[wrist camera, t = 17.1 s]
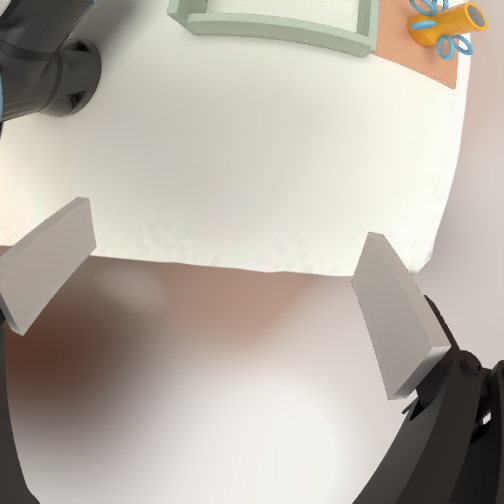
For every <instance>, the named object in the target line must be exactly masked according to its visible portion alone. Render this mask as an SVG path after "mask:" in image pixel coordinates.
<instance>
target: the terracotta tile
mask: <svg viewBox="0 0 504 504" xmlns="http://www.w3.org/2000/svg"><path fill="white" fill-rule="evenodd" d="M428 1H429V2H430V3H431V4H432V1H430V0H428ZM414 2H415V4H416V5H417V6H418V7H419V8H421V9H422V10H424V11H431V10H430V8H429V6H428V5H427V4H426V3H424V2H423V1H421V0H414ZM436 6H437V9H438V11H440V10H441V9H442V8H443V7H441V6H439V5H437V4H436ZM418 13H420V12H418V11H417V10H416V9H414V8H413V6H412V5H411V4H410V2H409V0H379V17H378V30H377V41H376V51H375V52H373V54H374V55H377V56H380V57H383V58H386V59H388V60H391V61H394V62H396V63H399V64H401V65H404V66H406V67H409V68H411V69H413V70H416V71H418V72H420V73H422V74H424V75H427V76H429V77H431V78H433V79H435V80H437V81H439V82H441V83H443V84H445V85H447V86H448V87H450V88H452V89H455V88H456V79H457V67H458V50H457V49H456V48H455V49H454V54H453V56H452V58H451V59H449V60H443V59H442V58H441V57H440V56H439V54H438V51H437V45H436V46H431V47H427V46H423V45H421V44H419V43H418V42H417V41H416V40H415V39H414V38H413V37H412V36H411V34H410V32H409V30H408V20H409V18H410V17H412V16H414V15H416V14H418ZM453 40H454V42H455V43H456V44H457V45H458V46H459V39H458V38H453ZM442 52H443V54H444V55H447V54H448V52H449V42H448V41H447V42H446V43H444V44H442Z"/></svg>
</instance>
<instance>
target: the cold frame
mask: <svg viewBox="0 0 504 504" xmlns="http://www.w3.org/2000/svg"><path fill="white" fill-rule="evenodd" d="M206 5H207V0H170V1H169V6H168V11H167V14H168V15H169V16H170V17H172V18H173V19H174V20H176V21H177V22H178V23H179V24H181V25H182V26H183V27H185V28H186V29H187V30H188V31H190V32H191V33H192V34H193V35H238V36H253V37H264V38H272V39H280V40H287V41H294V42H300V43H305V44H310V45H315V46H320V47H325V48H329V49H333V50H337V51H341V52H345V53H349V54H352V55H356V56H359V57H363V56H366V55H368V54H370V53H373V52H375V51H376V41H377V30H378V17H379V0H360V2H359V15H358V26H357V33H354V32H350V31H347V30H343V29H339V28H335V27H331V26H327V25H323V24H318V23H313V22H308V21H302V20H297V19H290V18H283V17H276V16H267V15H256V14H240V13H205V10H206Z"/></svg>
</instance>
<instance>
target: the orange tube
mask: <svg viewBox="0 0 504 504" xmlns="http://www.w3.org/2000/svg"><path fill="white" fill-rule="evenodd" d="M421 1H423V2H424V3H426V4H427V5H428V6H429V8H430V10H431V11H424V10H422V9H421V8H419V7H418V6H417V5H416V4H415V2H414V0H409V2H410V4H411V5H412V6H413V8H414V9H416V10H417V11H418V12H420V13H418V14H416V15H414V16H412V17H410V18H409V20H408V30H409V32H410V34H411V36H412V37H413V38H414V39H415V40H416V41H417V42H418V43H419V44H421V45H423V46H427V47H431V46H436V45H437V51H438V54H439V56H440V57H441V58H442V59H443V60H449V59H451V58H452V56H453V54H454V49H455V48H456V49H457V50H458V51H459V52H461V53H463V54H466V55H471V54H472V53H473V49H472V46H471V44H470V43H469V42H468V41H467V40H466V39H465V38H464V37H463V36H461V35H459V34H464V33H470V32H476V31H483V30H486V29H487V20H486V17H485V15H484V14H483V12H482V11H481V10H480V9H479V7H478V6H476V5H475V4H473V3H470V2H467V3H463V4H460V5H457V6H454V7H451V8H448V0H443V8H442V9H441V10H440V11H438V9H437V6H436V3H437V0H432V4H431V3H430V2H429V1H428V0H421ZM453 38H458V39H460V40H461V41H463V42H464V43H465V44H466V45H467V47H468V50H464V49H462V48H460V47H459V46H458V45H457V44H456V43H455V42H454V40H453ZM447 41H448V42H449V52H448V54H447V55H444V54H443V52H442V44H444V43H446V42H447Z"/></svg>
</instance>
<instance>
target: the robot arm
mask: <svg viewBox="0 0 504 504" xmlns="http://www.w3.org/2000/svg"><path fill="white" fill-rule="evenodd" d="M96 1H97V0H0V123H1V122H4V121H7V120H10V119H14V118H17V117H21V116H24V115H28V114H32V113H36V112H39V113H43V114H47V115H50V116H55V117H61V116H66V115H71V114H73V113H75V112H77V111H79V110H80V109H81V108H83V107H84V106H85V105H86V104H87V102H88V101H89V100H90V98H91V97H92V95H93V94H94V92H95V90H96V87H97V85H98V82H99V78H100V73H101V59H100V55H99V52H98V50H97V48H96V47H95V46H94V45H93V44H92V43H91V42H89V41H86V40H80V39H70V40H66V39H67V37H68V36H69V34H70V33H71V32H72V30H73V29H74V28H75V26H76V25H77V24H78V22H79V21H80V20H81V18H82V17H83V16H84V15H85V13H86V12H87V11H88V10H89V9H90V7H91V6H92V5H94V4H95V3H96ZM65 40H66V41H65ZM95 248H96V241H95V236H94V230H93V223H92V217H91V209H90V201H89V198H80V197H78V198H76V199H75V200H73V201H72V202H70V203H69V204H67V205H66V206H64V207H63V208H61V209H60V210H59V211H57V212H56V213H54V214H53V215H52V216H50V217H49V218H48V219H46V220H45V221H44V222H42V223H41V224H40V225H38V226H37V227H36V228H35V229H33V230H32V231H31V232H30V233H28V234H27V235H26V236H25V237H23V238H22V239H21V240H20V241H19V242H17V243H16V244H15V245H14V246H13V247H11V248H10V249H9V250H8V251H7V252H6V253H5V254H4V255H2V256H1V257H0V504H40V503H39V501H38V500H37V499H36V498H35V497H34V496H33V495H32V493H31V492H30V491H29V490H28V488H27V485H26V483H25V480H24V477H23V473H22V470H21V467H20V463H19V459H18V455H17V451H16V447H15V443H14V438H13V433H12V427H11V421H10V415H9V407H8V400H7V388H6V373H5V327H4V326H3V324H2V323H3V322H4V321H5V320H7V322H8V324H9V326H10V328H11V330H12V331H14V332H16V333H18V334H20V335H22V336H23V335H24V334H25V333H26V331H27V329H28V328H29V327H30V325H31V324H32V323H33V321H34V320H35V319H36V318H37V316H38V315H39V313H40V312H41V311H42V310H43V308H44V307H45V306H46V304H47V303H48V302H49V301H50V300H51V298H52V297H53V296H54V294H55V293H56V292H57V291H58V290H59V289H60V287H61V286H62V285H63V284H64V283H65V281H66V280H67V279H68V278H69V277H70V276H71V274H72V273H73V272H74V271H75V270H76V269H77V268H78V267H79V265H80V264H81V263H82V262H83V261H84V260H85V259H86V258H87V257H88V256H89V255H90V254H91V252H92V251H93V250H94V249H95ZM351 283H352V285H353V288H354V291H355V293H356V296H357V299H358V302H359V305H360V307H361V310H362V313H363V316H364V319H365V322H366V325H367V328H368V331H369V334H370V338H371V341H372V344H373V347H374V351H375V354H376V357H377V361H378V364H379V367H380V371H381V375H382V378H383V382H384V386H385V390H386V393H387V397H388V400H395V399H404V398H407V397H408V396H409V395H410V394H411V393H412V392H413V391H414V390H415V389H416V391H417V394H418V397H417V398H416V399H415V400H414V401H413V402H412V403H411V404H410V405H409V406H408V407H406V408H405V409H404V411H403V412H402V414H405V413H406V412H407V411H408V410H409V412H408V414H407V416H406V418H405V420H404V422H403V424H402V426H401V428H400V430H399V432H398V434H397V436H396V438H395V439H394V441H393V443H392V445H391V447H390V448H389V450H388V452H387V454H386V455H385V457H384V458H383V460H382V461H381V463H380V465H379V466H378V468H377V470H376V471H375V473H374V474H373V476H372V477H371V479H370V480H369V482H368V483H367V484H366V486H365V487H364V489H363V490H362V491H361V493H360V494H359V496H358V497H357V498H356V499H355V501H354V502H353V503H352V504H504V360H501V361H499V362H498V363H497V365H495V367H494V368H493V369H492V370H491V369H487V368H482V366H481V363H480V361H479V360H478V359H477V357H476V356H475V355H473V354H472V353H470V352H468V351H466V350H460V349H459V347H458V345H457V343H456V341H455V339H454V337H453V335H452V333H451V331H450V330H449V328H448V326H447V324H446V323H445V321H444V319H443V317H442V316H441V315H440V312H439V310H438V309H437V307H436V305H435V304H434V303H433V302H432V301H431V300H430V299H429V298H428V297H427V296H426V295H423V294H422V292H421V291H420V289H419V287H418V286H417V284H416V282H415V281H414V279H413V278H412V276H411V274H410V273H409V271H408V270H407V268H406V267H405V265H404V264H403V262H402V261H401V259H400V258H399V256H398V255H397V253H396V252H395V250H394V249H393V248H392V246H391V245H390V243H389V242H388V240H387V239H386V238H385V236H384V235H383V234H378V233H373V232H368V235H367V238H366V241H365V244H364V247H363V250H362V253H361V256H360V259H359V262H358V264H357V267H356V270H355V273H354V275H353V278H352V281H351ZM490 412H491V419H490V420H489V421H488V422H487V423H486V424H483V418H484V417H485V416H487V415H488V414H489V413H490Z"/></svg>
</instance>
